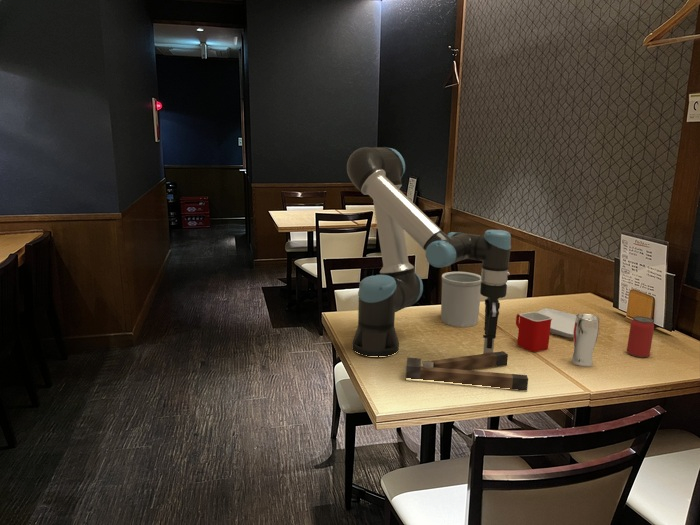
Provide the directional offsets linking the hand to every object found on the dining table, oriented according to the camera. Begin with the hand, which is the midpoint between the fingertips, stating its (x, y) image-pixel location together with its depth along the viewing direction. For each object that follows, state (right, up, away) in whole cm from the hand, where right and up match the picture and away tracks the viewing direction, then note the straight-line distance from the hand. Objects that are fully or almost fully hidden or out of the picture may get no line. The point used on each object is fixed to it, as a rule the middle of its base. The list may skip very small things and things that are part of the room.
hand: (487, 356), depth 158 cm
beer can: (+51, -1, +9) cm, 52 cm away
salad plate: (+35, +4, +32) cm, 47 cm away
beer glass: (+29, -2, +1) cm, 30 cm away
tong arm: (-7, -3, -5) cm, 9 cm away
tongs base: (-10, -5, -12) cm, 16 cm away
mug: (+18, +1, +15) cm, 23 cm away
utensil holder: (-1, +6, +37) cm, 37 cm away
